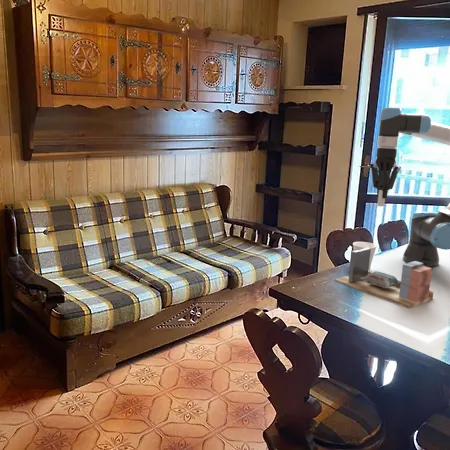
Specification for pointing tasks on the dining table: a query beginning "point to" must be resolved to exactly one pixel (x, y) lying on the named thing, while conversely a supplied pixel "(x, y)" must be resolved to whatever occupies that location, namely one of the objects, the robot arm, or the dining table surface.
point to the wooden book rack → (401, 286)
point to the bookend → (359, 264)
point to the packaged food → (381, 279)
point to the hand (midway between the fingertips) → (380, 205)
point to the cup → (362, 246)
